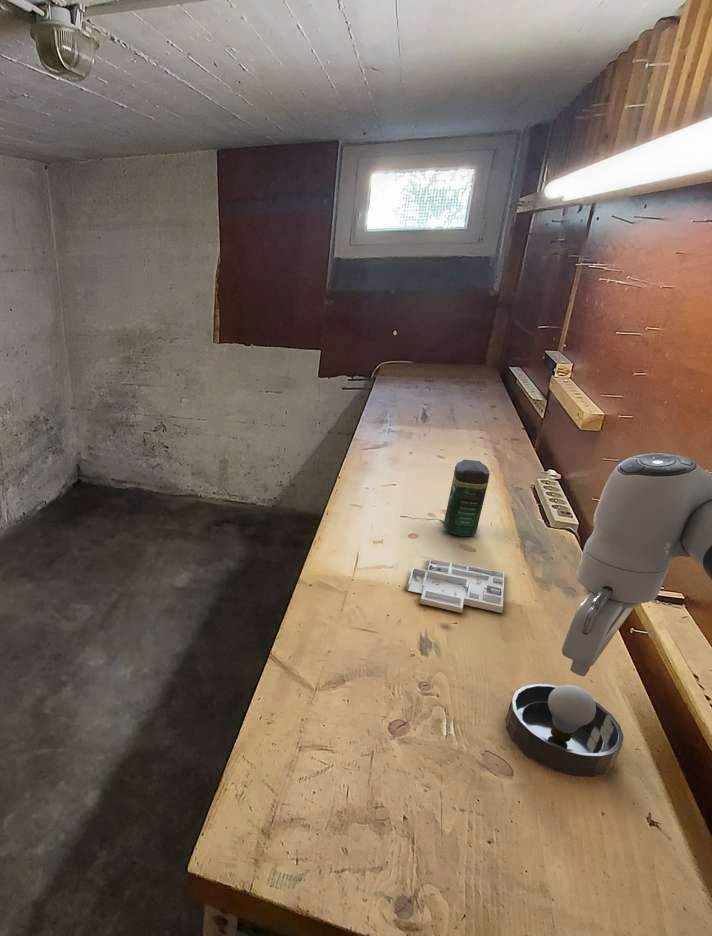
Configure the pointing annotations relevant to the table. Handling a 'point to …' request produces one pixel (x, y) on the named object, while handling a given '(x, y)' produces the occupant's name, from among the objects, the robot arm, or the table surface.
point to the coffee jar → (466, 497)
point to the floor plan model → (458, 586)
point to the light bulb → (570, 710)
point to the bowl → (578, 757)
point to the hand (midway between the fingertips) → (590, 655)
